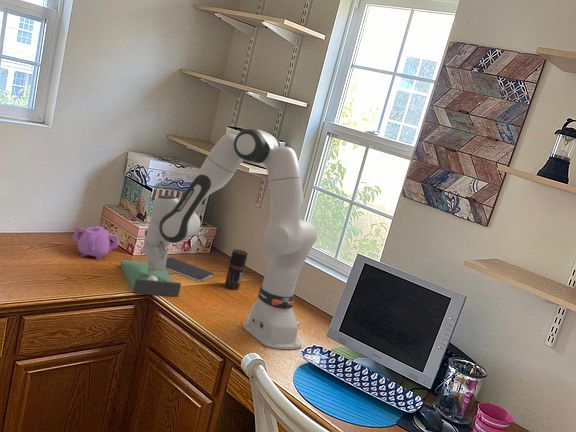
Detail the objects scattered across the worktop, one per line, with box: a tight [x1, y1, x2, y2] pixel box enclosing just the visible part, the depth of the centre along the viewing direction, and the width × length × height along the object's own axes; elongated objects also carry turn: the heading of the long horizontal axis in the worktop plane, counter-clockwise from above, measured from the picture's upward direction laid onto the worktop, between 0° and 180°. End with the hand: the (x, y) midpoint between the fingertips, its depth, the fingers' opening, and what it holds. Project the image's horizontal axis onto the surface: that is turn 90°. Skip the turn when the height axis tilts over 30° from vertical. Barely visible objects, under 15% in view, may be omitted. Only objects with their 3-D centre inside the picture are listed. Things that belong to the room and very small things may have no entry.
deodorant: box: [223, 249, 248, 291], centre depth 237 cm, size 6×6×15 cm
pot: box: [71, 225, 119, 260], centre depth 233 cm, size 18×17×12 cm
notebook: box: [165, 256, 215, 282], centre depth 244 cm, size 13×2×21 cm
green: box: [119, 259, 182, 298], centre depth 221 cm, size 27×16×5 cm, turn 26°
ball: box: [147, 276, 158, 281], centre depth 216 cm, size 4×4×4 cm
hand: (150, 273), depth 220 cm, fingers closed
